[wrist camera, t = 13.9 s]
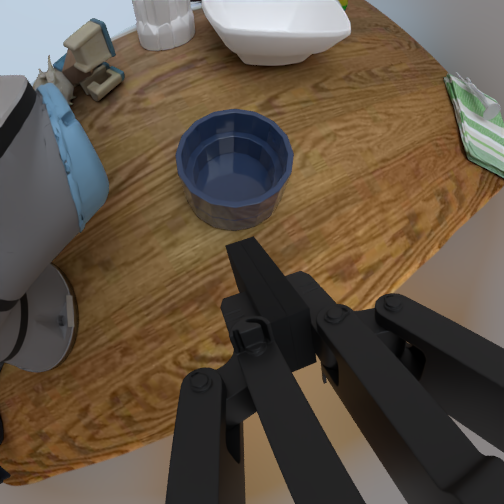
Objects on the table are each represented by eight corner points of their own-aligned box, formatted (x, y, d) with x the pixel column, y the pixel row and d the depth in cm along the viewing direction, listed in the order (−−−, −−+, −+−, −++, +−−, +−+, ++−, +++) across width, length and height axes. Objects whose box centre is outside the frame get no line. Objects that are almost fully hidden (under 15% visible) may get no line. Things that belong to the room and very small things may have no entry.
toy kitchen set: (30, 28, 27) (78, -7, 29) (58, 77, 41) (98, 44, 43) (71, 45, 25) (133, 3, 27) (103, 107, 39) (151, 68, 41)
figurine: (492, 101, 37) (459, 64, 42) (480, 117, 42) (449, 80, 47) (503, 106, 38) (472, 70, 43) (491, 121, 43) (462, 85, 48)
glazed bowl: (220, 250, 35) (217, 230, 27) (169, 176, 37) (156, 142, 29) (299, 198, 37) (316, 168, 30) (245, 133, 39) (248, 95, 31)
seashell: (75, 192, 38) (28, 98, 38) (121, 159, 41) (65, 73, 40) (50, 164, 28) (9, 65, 27) (108, 123, 31) (52, 36, 30)
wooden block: (73, 86, 36) (78, 59, 37) (93, 75, 35) (97, 49, 37) (60, 72, 32) (68, 46, 33) (81, 60, 31) (87, 34, 33)
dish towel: (463, 159, 42) (471, 152, 39) (440, 77, 47) (445, 69, 45) (517, 187, 42) (525, 182, 39) (493, 106, 48) (499, 100, 45)
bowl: (346, 89, 43) (369, 39, 31) (212, 97, 40) (209, 38, 29) (305, 20, 47) (316, -22, 36) (198, 25, 45) (196, -21, 34)
